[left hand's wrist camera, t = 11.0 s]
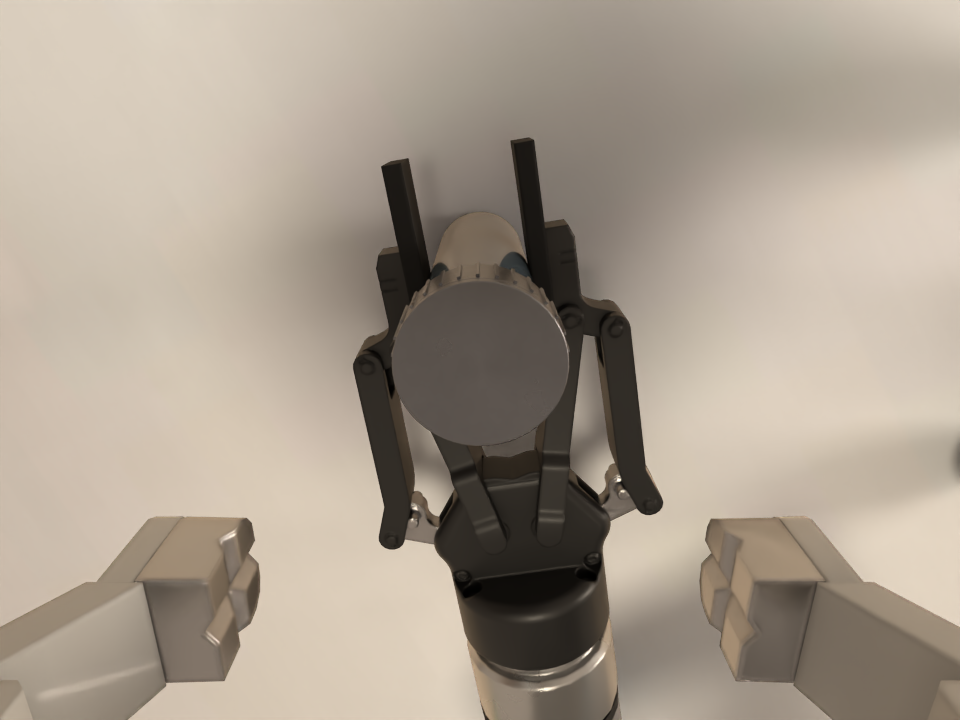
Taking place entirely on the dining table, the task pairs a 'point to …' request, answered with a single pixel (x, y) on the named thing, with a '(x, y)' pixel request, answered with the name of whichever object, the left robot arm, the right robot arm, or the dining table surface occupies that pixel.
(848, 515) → the dining table surface
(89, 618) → the left robot arm
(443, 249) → the grey cylinder
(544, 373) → the lid
